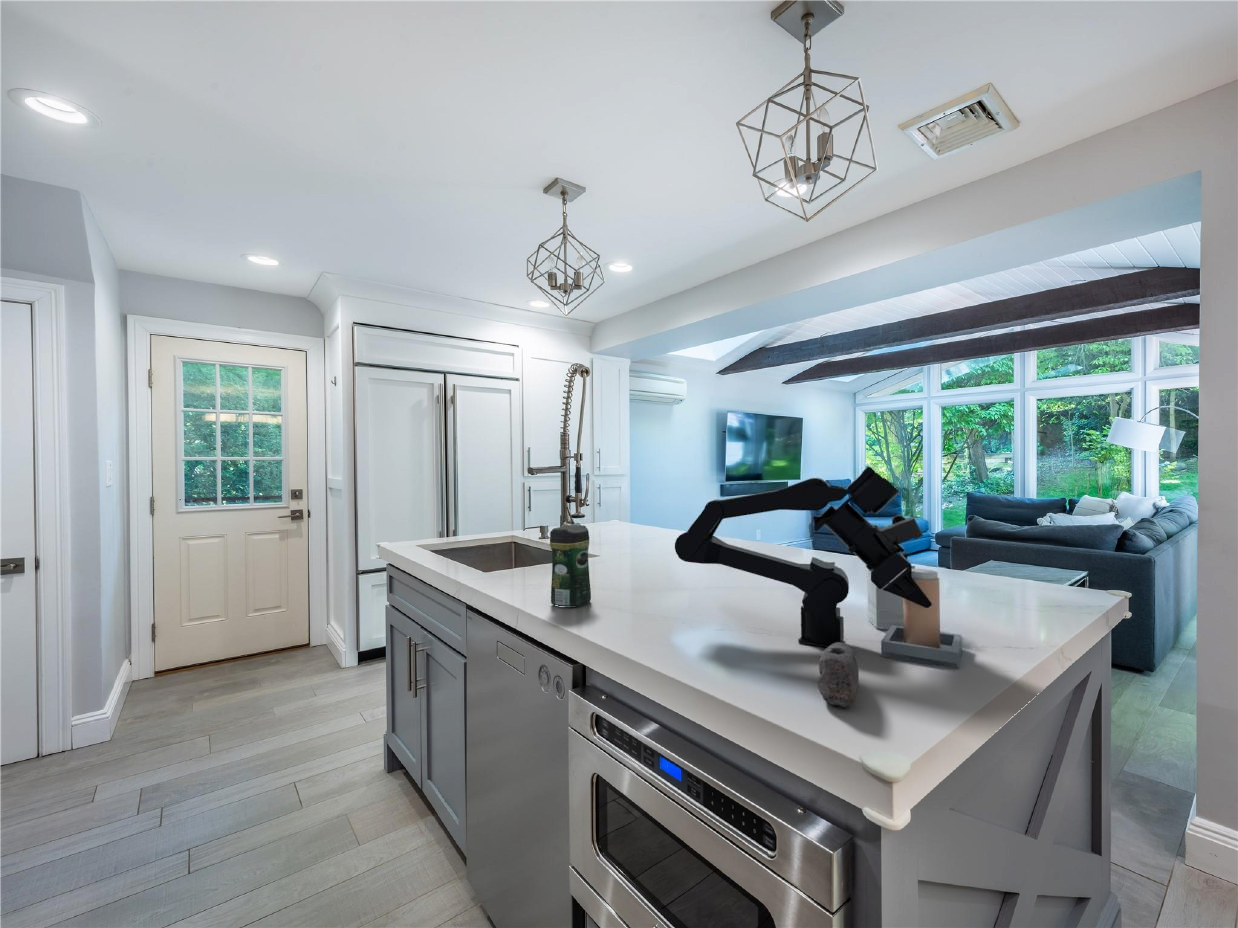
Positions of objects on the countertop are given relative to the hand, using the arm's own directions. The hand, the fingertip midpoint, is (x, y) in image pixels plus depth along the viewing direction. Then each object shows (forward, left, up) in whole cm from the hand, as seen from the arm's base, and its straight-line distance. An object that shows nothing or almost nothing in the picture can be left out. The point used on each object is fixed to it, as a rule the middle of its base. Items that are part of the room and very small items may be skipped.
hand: (927, 599), depth 95 cm
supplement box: (-8, +15, -9) cm, 19 cm away
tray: (-1, 0, -9) cm, 9 cm away
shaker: (-1, 0, -8) cm, 8 cm away
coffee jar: (-74, -5, -9) cm, 75 cm away
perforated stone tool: (-9, -25, -9) cm, 28 cm away
